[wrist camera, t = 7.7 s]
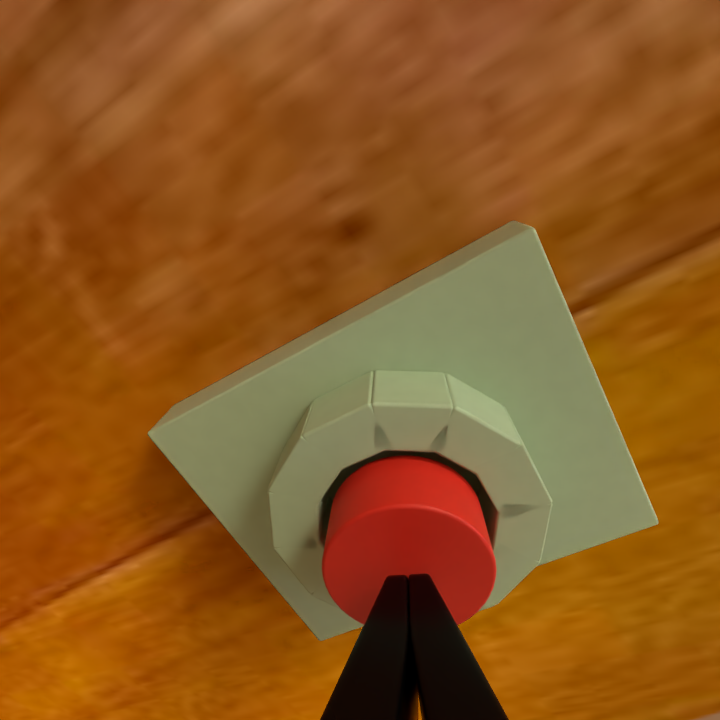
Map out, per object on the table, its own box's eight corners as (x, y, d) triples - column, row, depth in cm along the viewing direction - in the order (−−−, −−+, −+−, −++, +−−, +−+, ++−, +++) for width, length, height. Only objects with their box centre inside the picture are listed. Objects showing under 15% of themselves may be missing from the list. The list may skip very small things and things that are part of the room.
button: (440, 429, 10) (449, 478, 8) (505, 542, 11) (525, 605, 9) (303, 490, 11) (287, 545, 9) (376, 589, 12) (374, 655, 10)
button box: (514, 218, 11) (565, 236, 8) (629, 485, 14) (703, 579, 11) (173, 404, 14) (106, 474, 10) (326, 598, 16) (310, 701, 13)
